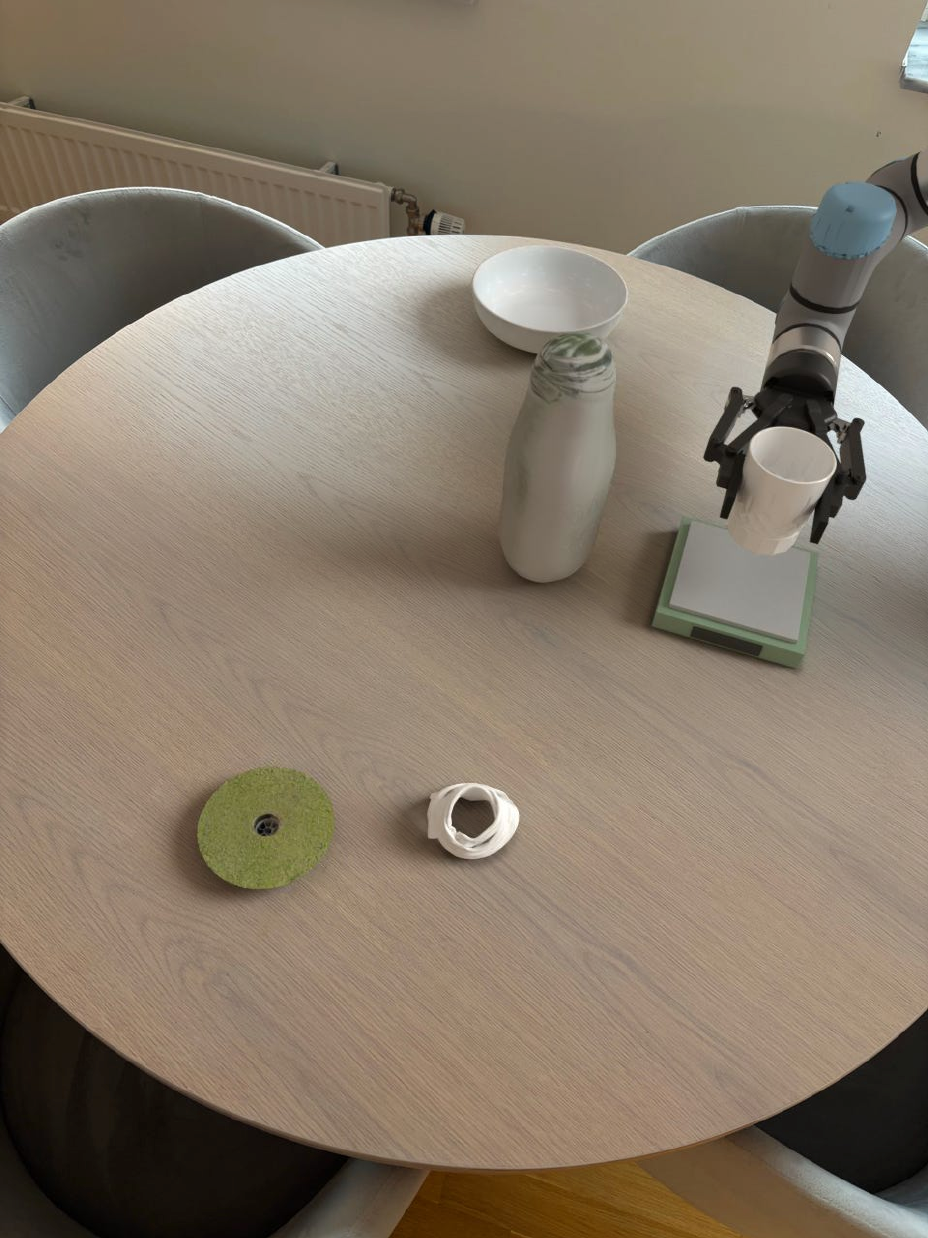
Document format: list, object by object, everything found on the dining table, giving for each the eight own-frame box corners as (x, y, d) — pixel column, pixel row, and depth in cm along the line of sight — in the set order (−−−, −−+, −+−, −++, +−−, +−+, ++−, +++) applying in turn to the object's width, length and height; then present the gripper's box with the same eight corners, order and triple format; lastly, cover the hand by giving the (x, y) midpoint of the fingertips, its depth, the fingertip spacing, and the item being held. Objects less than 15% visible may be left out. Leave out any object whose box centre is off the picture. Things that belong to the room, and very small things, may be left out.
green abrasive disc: (347, 879, 78) (347, 869, 77) (209, 914, 76) (205, 904, 74) (321, 765, 85) (320, 753, 84) (193, 793, 83) (189, 782, 81)
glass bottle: (526, 519, 107) (559, 296, 85) (604, 560, 103) (660, 338, 82) (476, 570, 102) (498, 345, 80) (557, 615, 98) (603, 393, 77)
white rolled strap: (512, 796, 85) (520, 764, 82) (520, 863, 81) (530, 831, 77) (423, 795, 84) (428, 762, 81) (427, 863, 79) (432, 831, 76)
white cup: (816, 541, 94) (855, 464, 86) (760, 571, 90) (795, 494, 83) (759, 494, 98) (791, 416, 90) (704, 521, 94) (731, 443, 87)
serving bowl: (460, 289, 136) (463, 244, 131) (602, 288, 139) (610, 243, 134) (477, 377, 123) (481, 331, 118) (634, 374, 126) (644, 329, 120)
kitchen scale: (811, 567, 105) (820, 548, 102) (796, 671, 95) (806, 653, 93) (678, 531, 107) (684, 511, 105) (650, 628, 98) (656, 609, 95)
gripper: (883, 432, 102) (870, 579, 88) (695, 385, 105) (654, 519, 91) (913, 374, 96) (904, 521, 82) (713, 326, 99) (672, 459, 85)
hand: (772, 520), depth 86 cm, fingers closed on white cup, 8 cm apart
